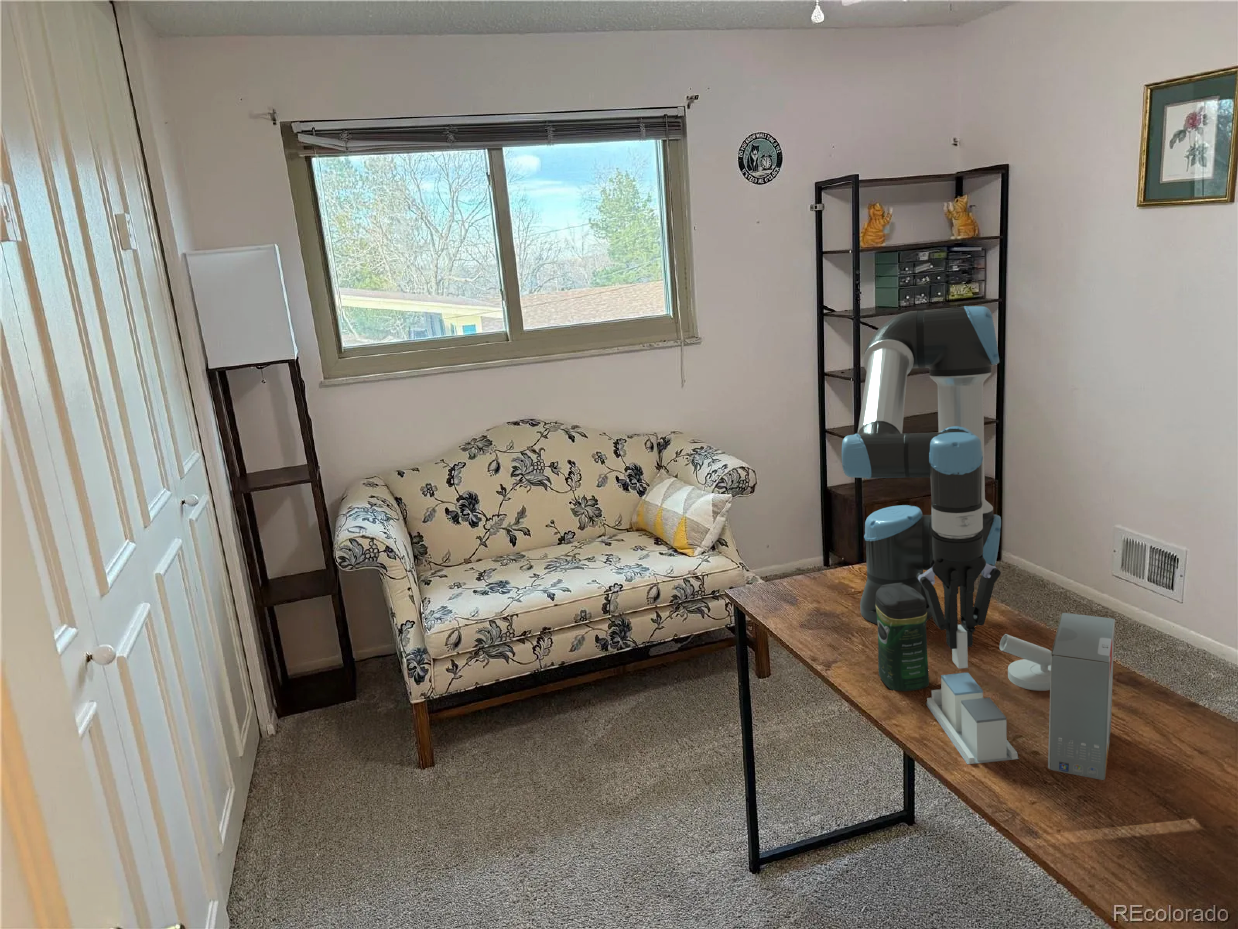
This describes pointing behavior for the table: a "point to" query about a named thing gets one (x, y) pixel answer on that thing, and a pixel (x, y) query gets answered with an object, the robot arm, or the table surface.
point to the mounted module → (984, 729)
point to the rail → (960, 732)
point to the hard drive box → (1081, 695)
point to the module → (957, 696)
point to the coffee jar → (902, 637)
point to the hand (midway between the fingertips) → (960, 664)
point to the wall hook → (1028, 664)
